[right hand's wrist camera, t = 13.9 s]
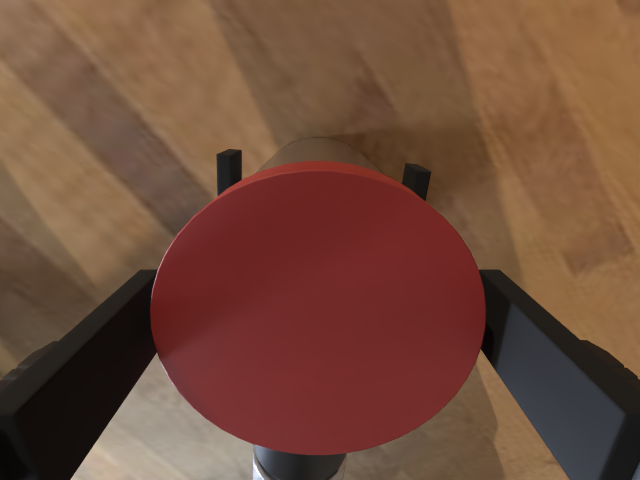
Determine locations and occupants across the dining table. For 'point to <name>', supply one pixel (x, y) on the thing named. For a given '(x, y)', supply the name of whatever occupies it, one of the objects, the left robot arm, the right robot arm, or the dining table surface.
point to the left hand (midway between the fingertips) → (324, 159)
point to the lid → (318, 309)
